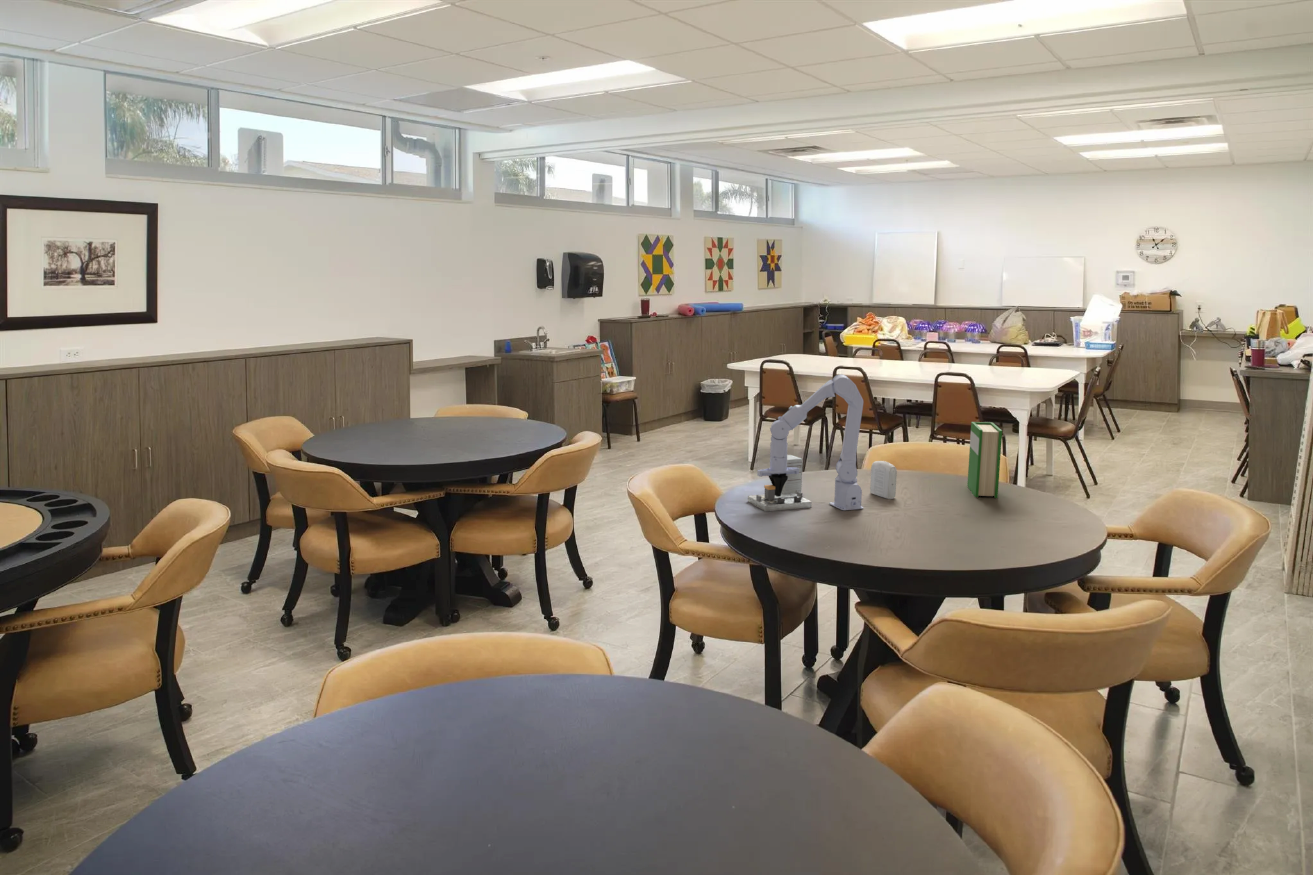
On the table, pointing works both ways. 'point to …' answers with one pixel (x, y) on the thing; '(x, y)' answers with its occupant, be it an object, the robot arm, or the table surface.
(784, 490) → the supplement box
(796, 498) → the console
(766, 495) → the fader tab
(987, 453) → the hardback book
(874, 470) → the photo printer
